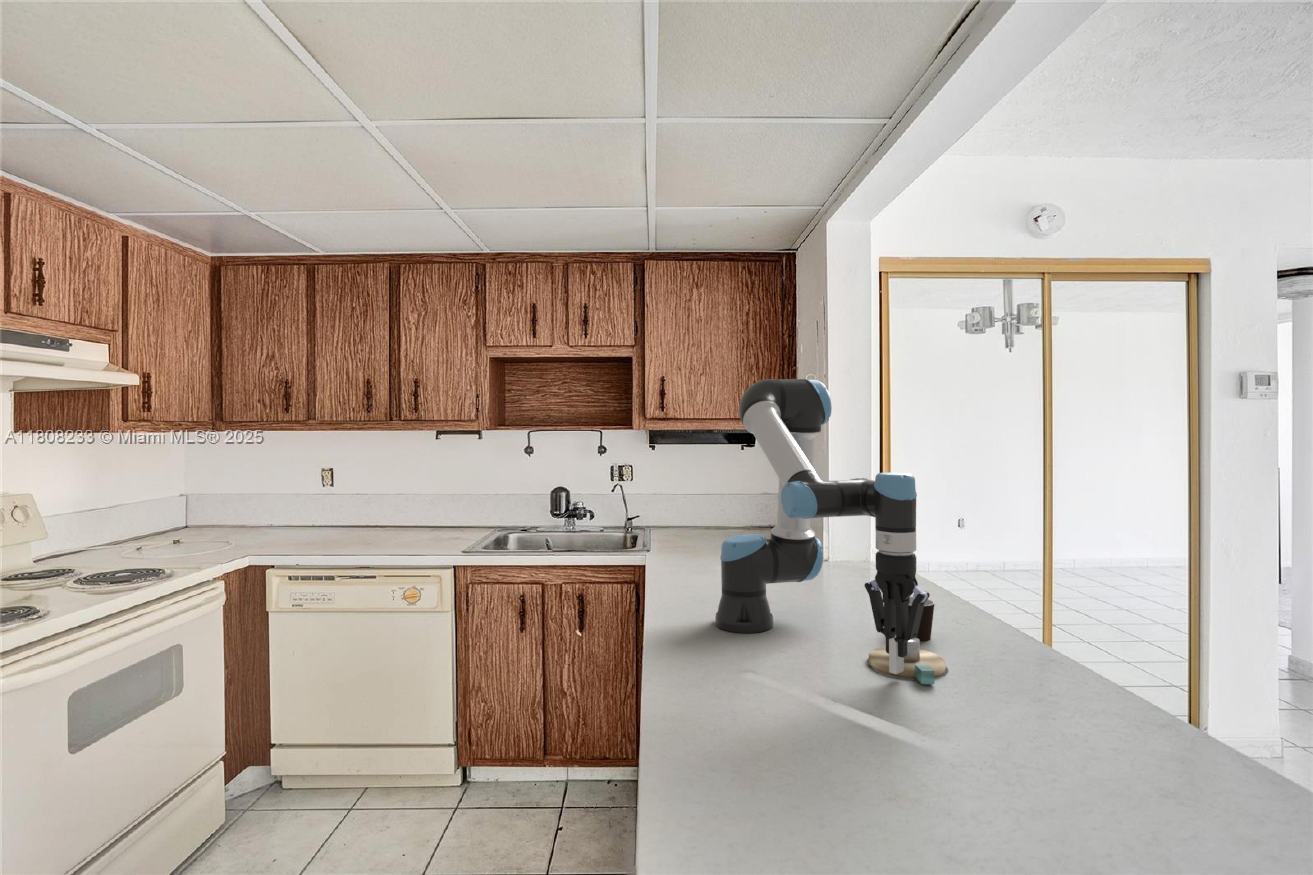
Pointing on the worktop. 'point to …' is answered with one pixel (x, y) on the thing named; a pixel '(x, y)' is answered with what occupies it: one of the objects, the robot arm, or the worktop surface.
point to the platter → (911, 665)
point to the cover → (912, 651)
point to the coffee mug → (924, 620)
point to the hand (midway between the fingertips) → (896, 671)
